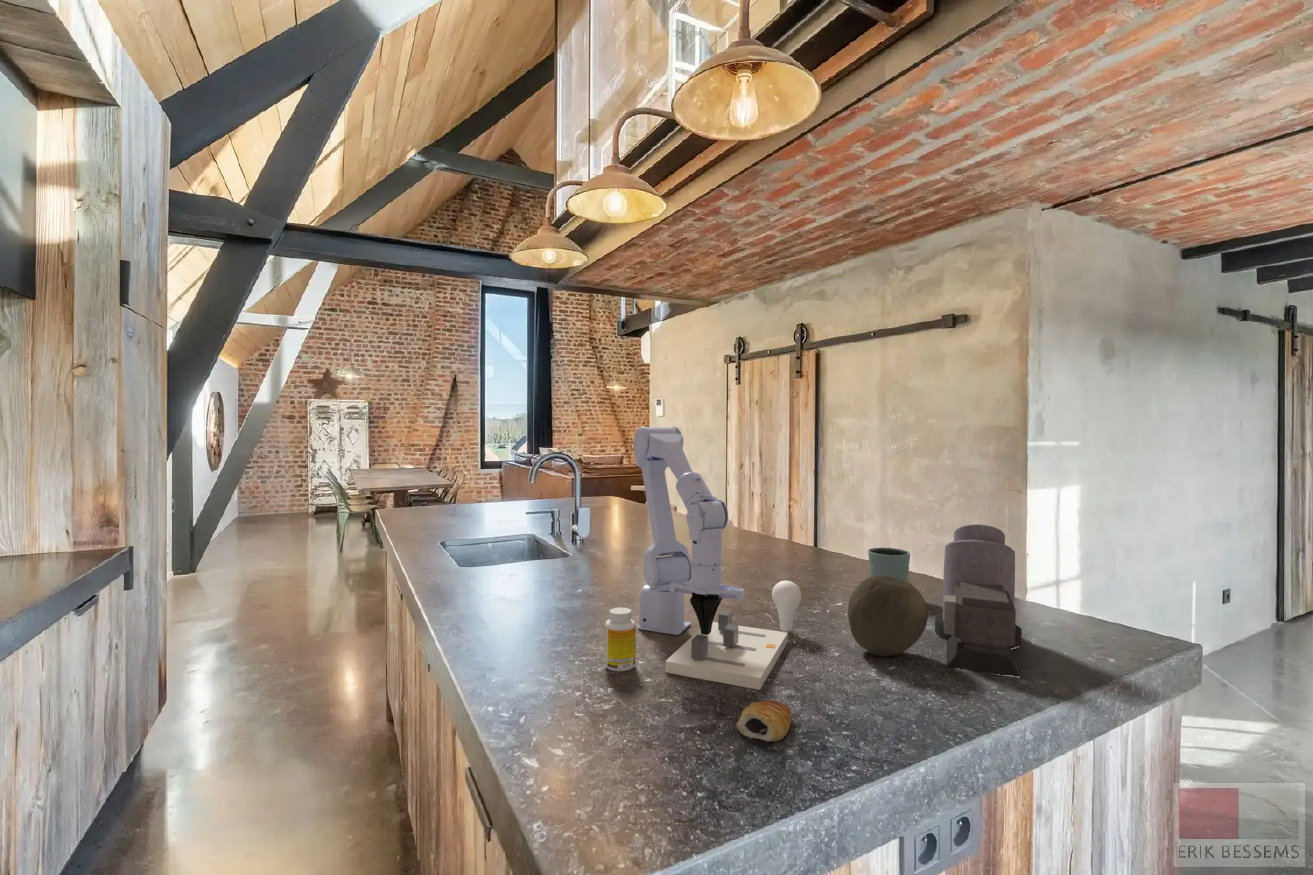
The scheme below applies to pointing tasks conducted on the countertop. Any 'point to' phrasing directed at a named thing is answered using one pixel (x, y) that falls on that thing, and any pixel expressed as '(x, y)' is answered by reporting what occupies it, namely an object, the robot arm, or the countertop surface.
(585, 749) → the countertop surface
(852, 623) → the cantaloupe
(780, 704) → the pastry
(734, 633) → the block
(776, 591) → the lightbulb
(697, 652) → the block
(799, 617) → the countertop surface
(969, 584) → the juicer
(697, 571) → the robot arm
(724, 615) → the block
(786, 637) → the breaker panel
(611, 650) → the supplement bottle
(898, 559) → the drinking glass
